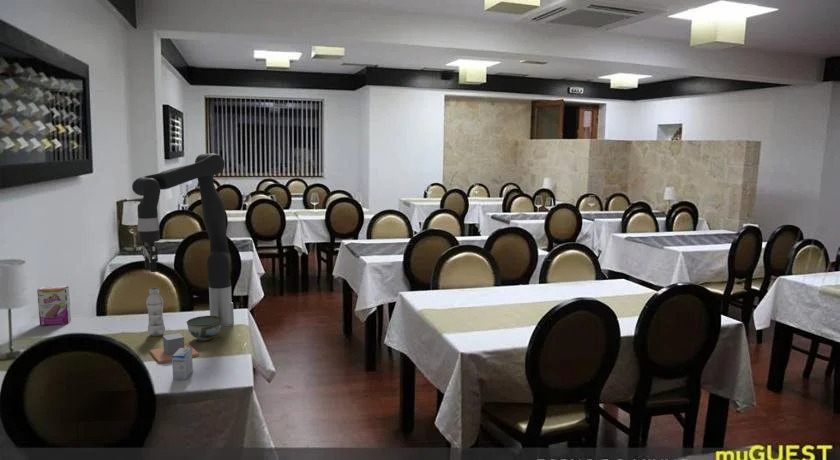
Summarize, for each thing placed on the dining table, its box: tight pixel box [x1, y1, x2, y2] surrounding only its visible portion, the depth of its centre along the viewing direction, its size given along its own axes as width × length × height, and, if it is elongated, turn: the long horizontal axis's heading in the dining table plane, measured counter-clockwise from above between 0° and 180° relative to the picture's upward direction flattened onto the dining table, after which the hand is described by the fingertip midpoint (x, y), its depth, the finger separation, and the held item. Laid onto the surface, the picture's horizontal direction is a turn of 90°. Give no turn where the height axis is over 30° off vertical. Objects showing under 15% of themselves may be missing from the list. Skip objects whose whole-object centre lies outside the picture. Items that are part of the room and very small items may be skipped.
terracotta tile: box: [149, 342, 199, 364], centre depth 221 cm, size 14×14×1 cm
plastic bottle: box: [145, 287, 166, 337], centre depth 241 cm, size 6×7×20 cm
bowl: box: [186, 315, 222, 342], centre depth 238 cm, size 14×13×8 cm
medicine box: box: [171, 348, 194, 381], centre depth 200 cm, size 8×4×9 cm, turn 5°
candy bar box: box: [36, 285, 72, 327], centre depth 255 cm, size 11×5×16 cm, turn 108°
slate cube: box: [162, 332, 185, 356], centre depth 220 cm, size 6×6×6 cm
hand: (150, 269), depth 228 cm, fingers open, 8 cm apart
